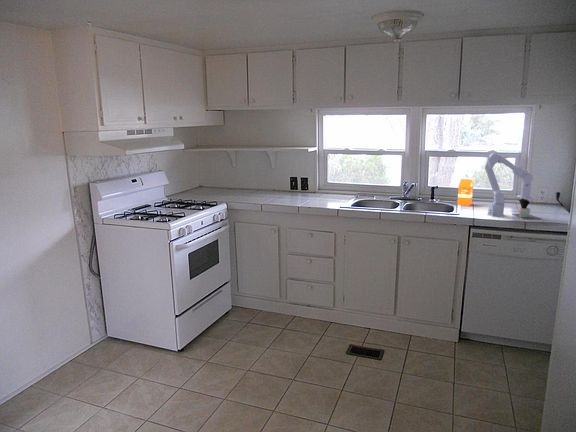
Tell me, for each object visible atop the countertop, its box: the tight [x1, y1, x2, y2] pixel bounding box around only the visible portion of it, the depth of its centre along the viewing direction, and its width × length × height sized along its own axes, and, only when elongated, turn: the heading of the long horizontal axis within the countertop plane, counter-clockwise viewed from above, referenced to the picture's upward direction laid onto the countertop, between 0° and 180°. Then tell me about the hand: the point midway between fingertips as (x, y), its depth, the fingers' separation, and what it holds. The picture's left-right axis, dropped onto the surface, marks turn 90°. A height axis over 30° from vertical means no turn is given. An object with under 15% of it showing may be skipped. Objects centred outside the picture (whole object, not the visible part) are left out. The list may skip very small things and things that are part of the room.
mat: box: [511, 213, 542, 221], centre depth 302 cm, size 12×17×1 cm
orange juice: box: [457, 178, 474, 207], centre depth 345 cm, size 8×9×20 cm
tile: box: [518, 207, 531, 218], centre depth 300 cm, size 6×2×6 cm, turn 94°
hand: (523, 210), depth 301 cm, fingers closed
